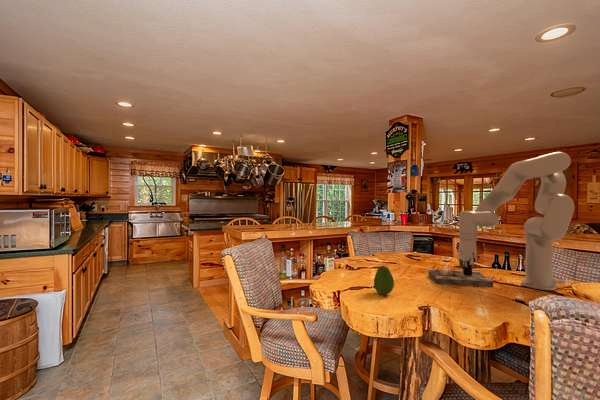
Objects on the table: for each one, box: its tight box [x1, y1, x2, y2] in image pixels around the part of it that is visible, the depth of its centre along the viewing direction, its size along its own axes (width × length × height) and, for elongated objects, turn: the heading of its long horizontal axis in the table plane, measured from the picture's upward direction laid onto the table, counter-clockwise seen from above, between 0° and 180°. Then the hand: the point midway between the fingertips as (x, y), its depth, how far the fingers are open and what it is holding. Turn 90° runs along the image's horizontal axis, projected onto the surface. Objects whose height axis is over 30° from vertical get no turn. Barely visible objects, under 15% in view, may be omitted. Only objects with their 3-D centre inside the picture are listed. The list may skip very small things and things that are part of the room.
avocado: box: [373, 265, 395, 296], centre depth 120 cm, size 8×8×12 cm
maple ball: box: [439, 267, 453, 277], centre depth 141 cm, size 6×6×6 cm
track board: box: [428, 268, 494, 288], centre depth 140 cm, size 24×14×4 cm, turn 80°
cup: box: [458, 257, 475, 270], centre depth 156 cm, size 8×7×8 cm
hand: (467, 275), depth 138 cm, fingers closed
